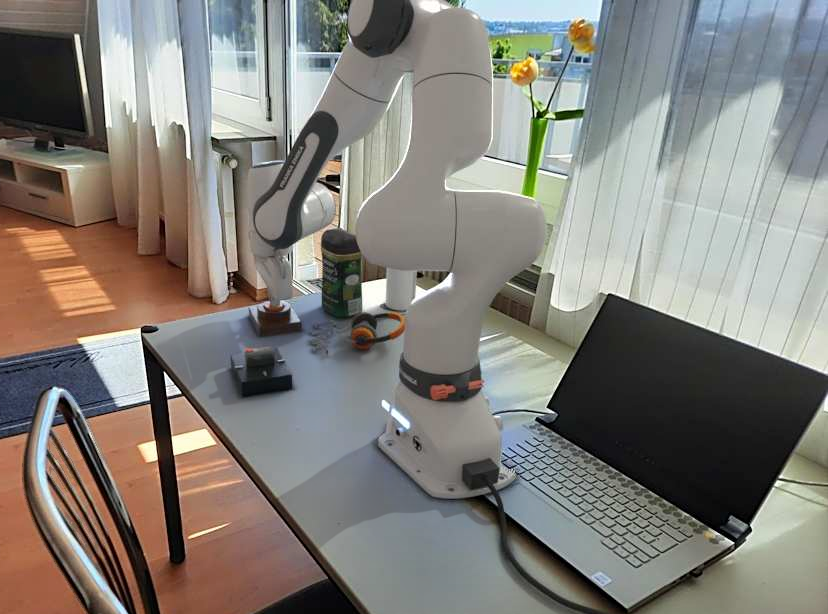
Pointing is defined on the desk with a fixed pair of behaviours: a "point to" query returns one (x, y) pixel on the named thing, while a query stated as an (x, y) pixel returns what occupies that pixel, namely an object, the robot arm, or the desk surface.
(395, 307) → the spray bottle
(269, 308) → the button
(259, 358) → the dial
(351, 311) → the coffee jar
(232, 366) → the dial panel
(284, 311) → the button block
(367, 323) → the headphones
